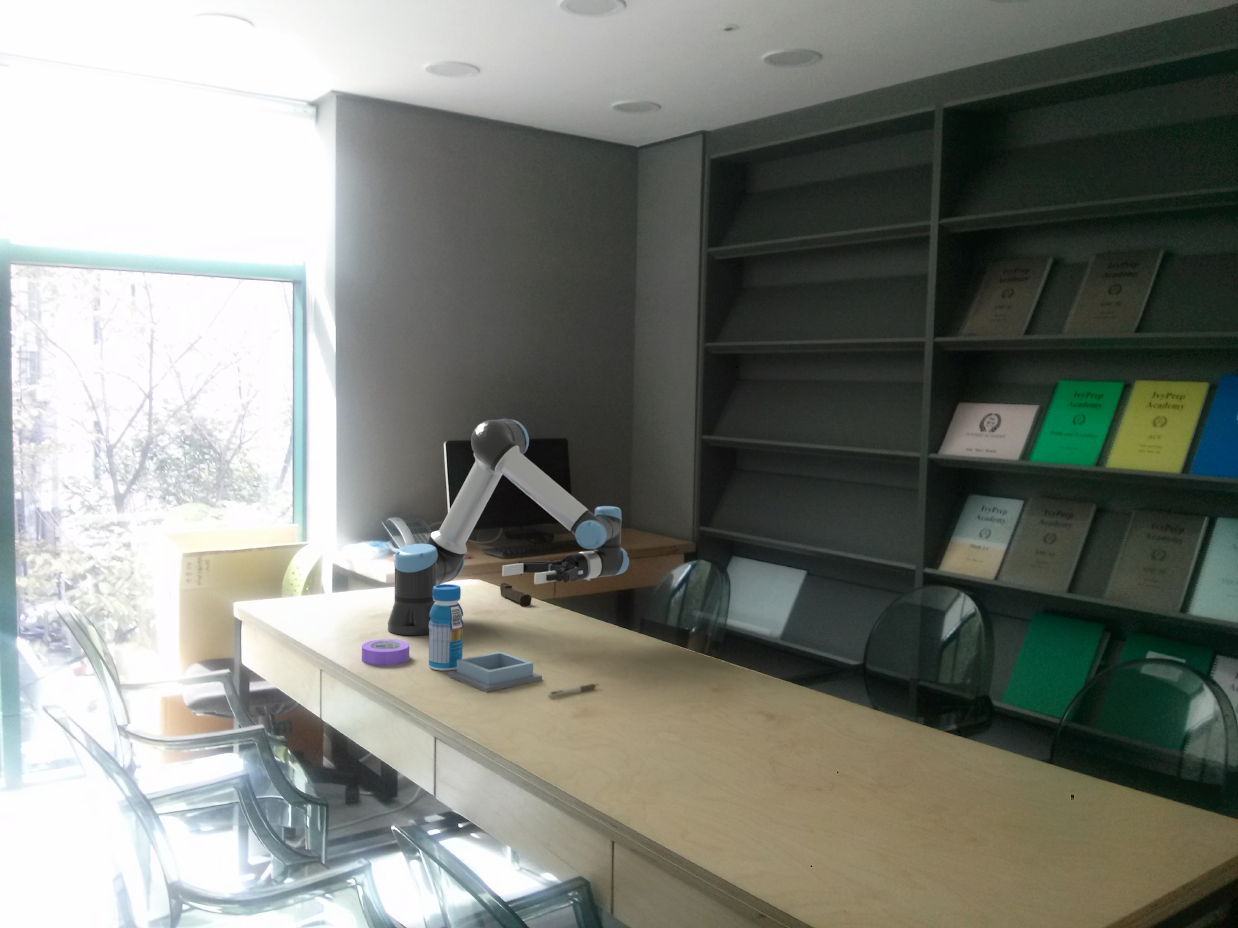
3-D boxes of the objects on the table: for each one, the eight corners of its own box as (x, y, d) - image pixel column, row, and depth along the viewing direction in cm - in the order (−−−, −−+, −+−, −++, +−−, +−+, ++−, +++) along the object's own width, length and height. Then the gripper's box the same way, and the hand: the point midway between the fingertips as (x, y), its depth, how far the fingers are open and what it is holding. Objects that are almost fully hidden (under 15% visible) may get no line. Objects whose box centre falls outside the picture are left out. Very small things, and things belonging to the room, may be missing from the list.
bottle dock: (447, 675, 242) (447, 659, 241) (502, 664, 253) (502, 649, 252) (486, 692, 230) (486, 674, 230) (542, 679, 241) (542, 663, 241)
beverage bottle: (428, 672, 245) (429, 590, 243) (427, 662, 253) (429, 583, 251) (463, 671, 246) (464, 589, 245) (462, 661, 254) (463, 582, 253)
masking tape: (416, 662, 253) (416, 647, 253) (370, 668, 247) (370, 653, 247) (399, 651, 263) (399, 637, 263) (355, 656, 257) (355, 642, 257)
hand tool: (532, 606, 321) (532, 591, 320) (520, 607, 319) (520, 592, 318) (508, 595, 337) (509, 581, 337) (497, 595, 335) (497, 581, 335)
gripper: (611, 587, 268) (549, 597, 253) (551, 573, 286) (490, 581, 272) (612, 558, 267) (549, 567, 253) (551, 546, 285) (490, 553, 271)
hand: (518, 574), depth 262 cm, fingers open, 13 cm apart
